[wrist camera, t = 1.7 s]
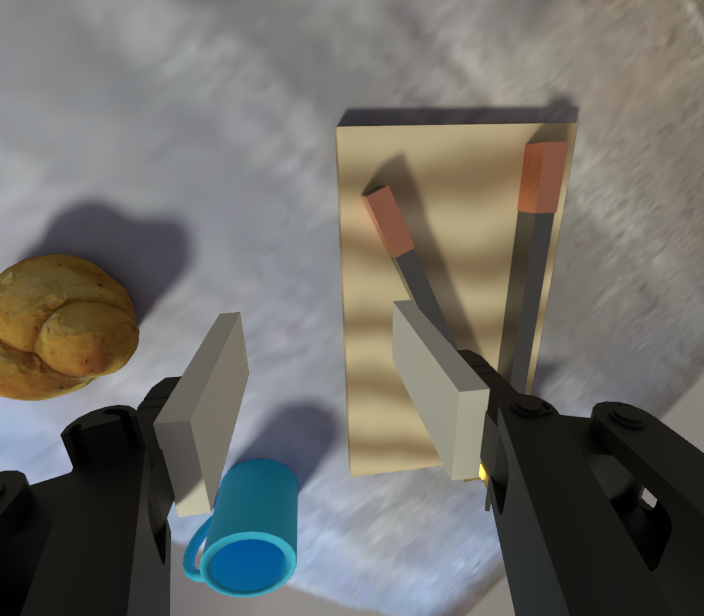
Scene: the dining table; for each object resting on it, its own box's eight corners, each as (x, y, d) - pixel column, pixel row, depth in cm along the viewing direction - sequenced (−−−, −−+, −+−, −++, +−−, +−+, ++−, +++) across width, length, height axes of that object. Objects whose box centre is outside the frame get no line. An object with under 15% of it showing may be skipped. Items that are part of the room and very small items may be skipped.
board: (335, 129, 27) (336, 126, 26) (564, 125, 29) (578, 122, 28) (349, 466, 39) (351, 476, 37) (513, 445, 41) (520, 455, 39)
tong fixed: (495, 145, 28) (513, 142, 25) (547, 144, 28) (569, 141, 26) (465, 438, 37) (476, 455, 35) (504, 433, 38) (517, 450, 36)
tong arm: (360, 195, 27) (365, 197, 25) (381, 184, 27) (388, 185, 25) (459, 407, 36) (470, 423, 33) (475, 399, 36) (488, 415, 33)
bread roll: (61, 398, 32) (-13, 466, 24) (-40, 316, 28) (-162, 366, 21) (174, 320, 31) (133, 366, 23) (84, 225, 27) (1, 243, 20)
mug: (272, 446, 36) (264, 516, 29) (311, 495, 39) (313, 570, 32) (172, 497, 37) (139, 580, 30) (219, 542, 40) (199, 627, 32)
